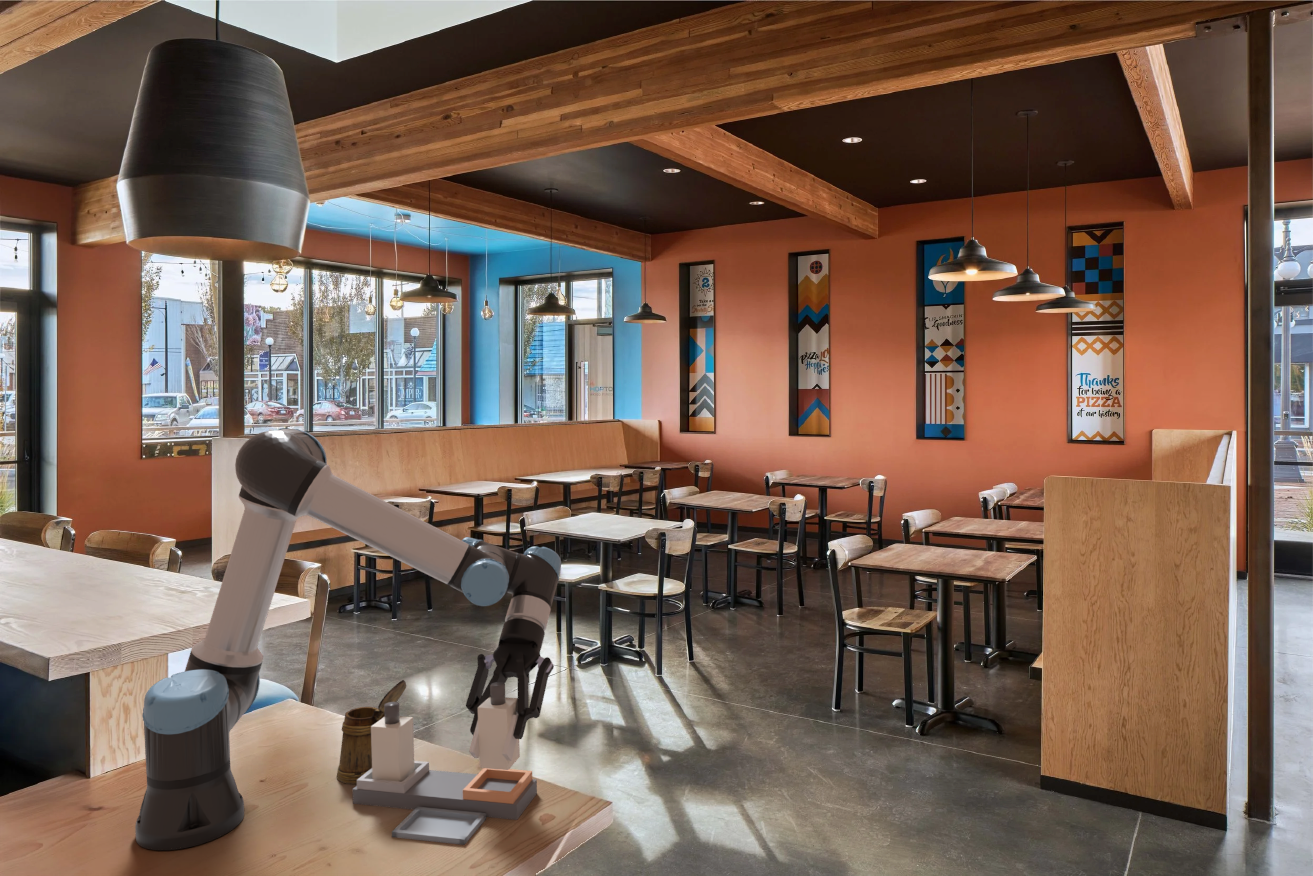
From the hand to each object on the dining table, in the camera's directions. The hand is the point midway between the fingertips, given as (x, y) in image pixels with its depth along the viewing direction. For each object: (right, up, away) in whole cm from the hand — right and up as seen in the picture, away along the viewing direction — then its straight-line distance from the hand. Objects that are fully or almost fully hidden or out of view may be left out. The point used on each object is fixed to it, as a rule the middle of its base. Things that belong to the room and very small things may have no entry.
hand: (490, 756), depth 134 cm
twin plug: (-18, -7, +8) cm, 21 cm away
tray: (-7, -10, -3) cm, 13 cm away
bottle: (+1, -3, +4) cm, 5 cm away
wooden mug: (-24, -10, +17) cm, 31 cm away
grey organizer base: (-9, -10, +6) cm, 14 cm away
